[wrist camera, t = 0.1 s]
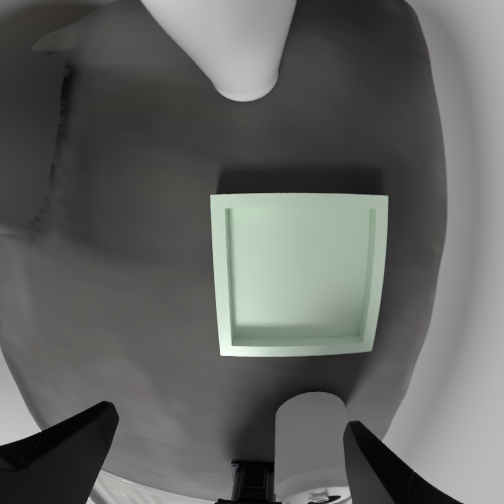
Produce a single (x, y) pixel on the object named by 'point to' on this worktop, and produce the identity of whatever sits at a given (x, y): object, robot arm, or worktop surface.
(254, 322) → the tray
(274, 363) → the worktop surface
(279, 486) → the can
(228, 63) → the drinking glass
